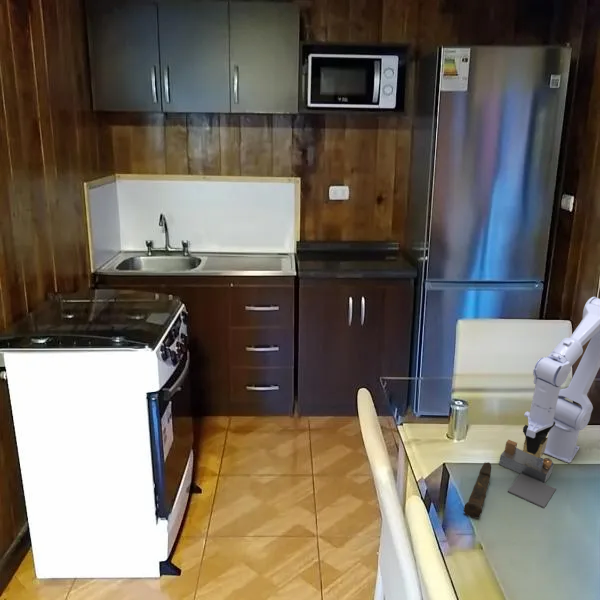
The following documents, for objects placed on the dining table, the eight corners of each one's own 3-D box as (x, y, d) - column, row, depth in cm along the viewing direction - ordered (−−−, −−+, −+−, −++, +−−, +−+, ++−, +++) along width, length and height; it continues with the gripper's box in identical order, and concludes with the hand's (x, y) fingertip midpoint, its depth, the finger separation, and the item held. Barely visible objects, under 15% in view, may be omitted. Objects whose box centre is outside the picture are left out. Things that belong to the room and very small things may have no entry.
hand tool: (479, 521, 140) (482, 505, 139) (462, 515, 142) (465, 499, 140) (497, 477, 156) (500, 462, 154) (482, 472, 158) (484, 457, 156)
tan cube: (528, 444, 159) (530, 431, 158) (544, 451, 157) (547, 438, 155) (522, 451, 156) (525, 438, 155) (539, 458, 154) (542, 445, 152)
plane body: (507, 454, 165) (510, 435, 163) (551, 472, 158) (556, 453, 156) (498, 464, 160) (502, 445, 158) (544, 483, 154) (548, 464, 151)
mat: (520, 474, 157) (520, 473, 156) (555, 489, 152) (556, 488, 151) (507, 491, 150) (507, 490, 150) (544, 508, 145) (544, 507, 145)
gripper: (537, 386, 159) (528, 430, 164) (518, 408, 148) (509, 455, 153) (565, 396, 155) (555, 440, 160) (547, 419, 144) (536, 466, 149)
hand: (534, 448), depth 156 cm, fingers closed on tan cube, 4 cm apart
